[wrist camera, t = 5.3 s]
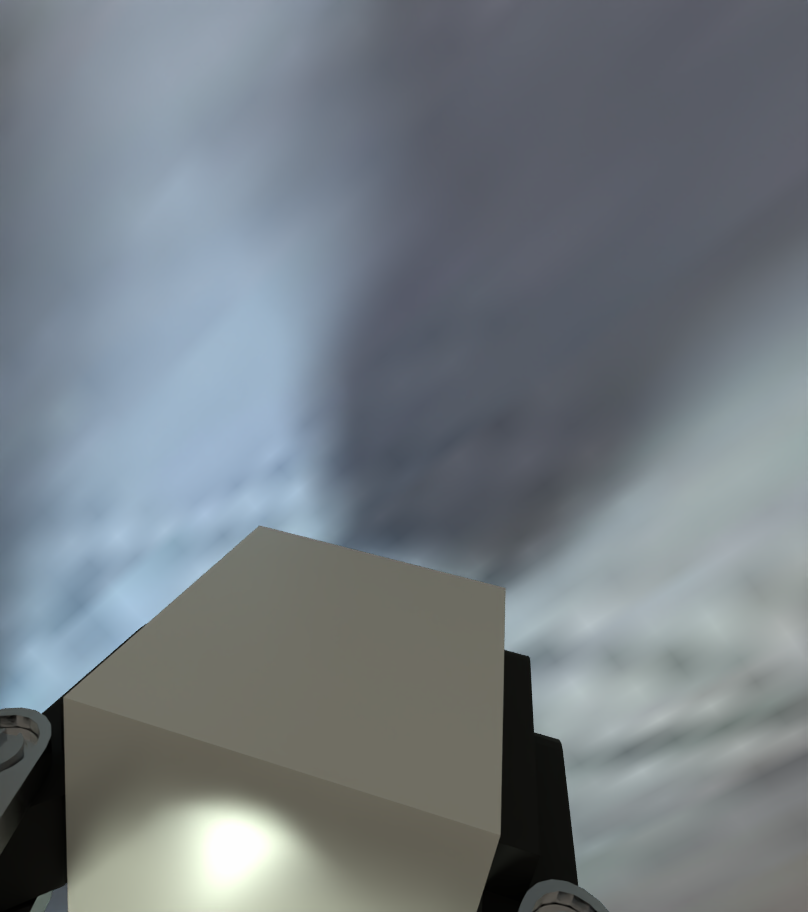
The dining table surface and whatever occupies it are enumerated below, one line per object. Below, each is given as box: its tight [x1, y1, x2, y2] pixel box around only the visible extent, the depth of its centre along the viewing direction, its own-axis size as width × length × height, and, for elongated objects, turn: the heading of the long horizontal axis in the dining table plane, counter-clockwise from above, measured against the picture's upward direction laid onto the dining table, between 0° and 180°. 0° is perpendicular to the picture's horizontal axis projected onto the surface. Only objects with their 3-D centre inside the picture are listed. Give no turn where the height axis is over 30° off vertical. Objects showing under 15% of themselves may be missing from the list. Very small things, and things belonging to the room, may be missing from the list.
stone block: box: [63, 526, 505, 912], centre depth 9 cm, size 5×5×5 cm
